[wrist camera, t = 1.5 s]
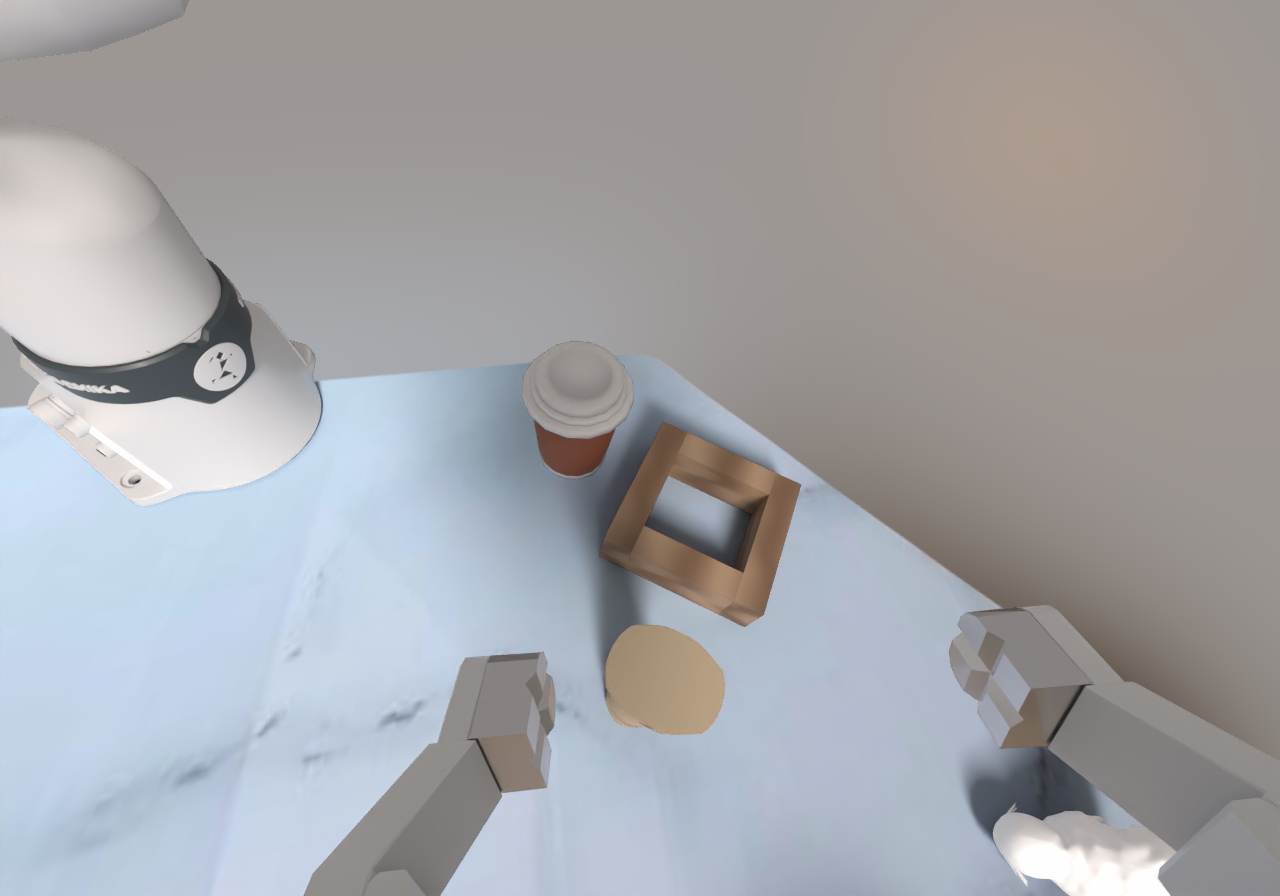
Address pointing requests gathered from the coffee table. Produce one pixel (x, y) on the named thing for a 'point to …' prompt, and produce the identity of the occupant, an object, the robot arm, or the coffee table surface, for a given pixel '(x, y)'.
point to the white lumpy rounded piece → (1083, 853)
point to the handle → (662, 681)
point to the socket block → (683, 567)
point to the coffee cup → (576, 405)
